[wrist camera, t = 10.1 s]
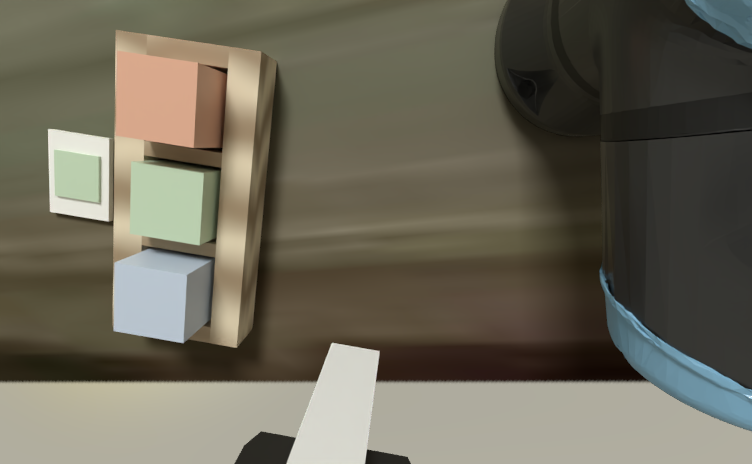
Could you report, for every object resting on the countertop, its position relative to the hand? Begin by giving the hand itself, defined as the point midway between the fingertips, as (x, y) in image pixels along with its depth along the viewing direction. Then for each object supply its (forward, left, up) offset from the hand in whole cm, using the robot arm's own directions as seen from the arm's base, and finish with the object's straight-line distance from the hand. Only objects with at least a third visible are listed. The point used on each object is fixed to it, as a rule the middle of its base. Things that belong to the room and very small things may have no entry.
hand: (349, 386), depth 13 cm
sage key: (0, -18, -25) cm, 31 cm away
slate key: (+8, -18, -23) cm, 31 cm away
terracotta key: (-8, -18, -23) cm, 31 cm away
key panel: (0, -18, -26) cm, 32 cm away
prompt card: (0, -30, -26) cm, 40 cm away
